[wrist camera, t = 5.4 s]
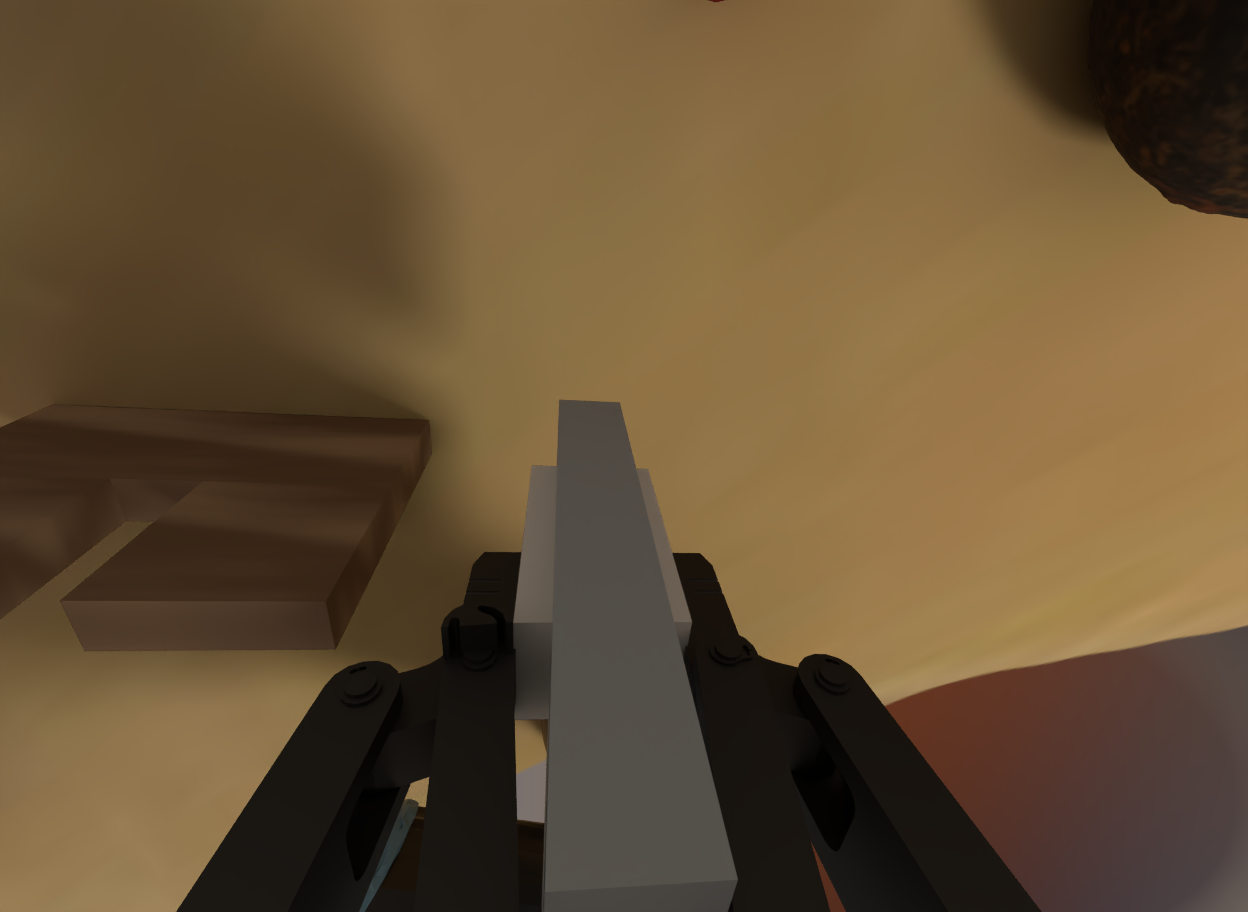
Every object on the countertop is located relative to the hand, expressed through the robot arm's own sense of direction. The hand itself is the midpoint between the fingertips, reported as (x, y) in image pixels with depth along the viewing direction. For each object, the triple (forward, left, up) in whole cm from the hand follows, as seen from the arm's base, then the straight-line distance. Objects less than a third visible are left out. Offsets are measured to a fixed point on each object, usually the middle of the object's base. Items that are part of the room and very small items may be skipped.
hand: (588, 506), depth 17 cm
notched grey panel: (-7, 0, -2) cm, 7 cm away
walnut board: (-4, +17, -13) cm, 22 cm away
